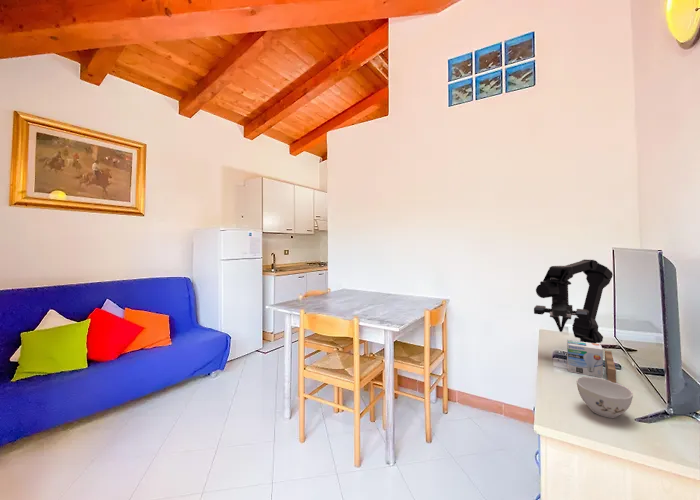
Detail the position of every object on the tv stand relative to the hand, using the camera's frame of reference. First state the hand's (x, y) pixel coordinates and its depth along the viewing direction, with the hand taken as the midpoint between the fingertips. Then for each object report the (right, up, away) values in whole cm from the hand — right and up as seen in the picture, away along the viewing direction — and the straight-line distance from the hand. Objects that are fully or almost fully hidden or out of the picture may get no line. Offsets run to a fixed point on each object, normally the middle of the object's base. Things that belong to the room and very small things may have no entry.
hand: (561, 331), depth 123 cm
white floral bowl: (-14, -14, -37) cm, 41 cm away
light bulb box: (+1, -12, -11) cm, 17 cm away
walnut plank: (+7, -12, -15) cm, 21 cm away
